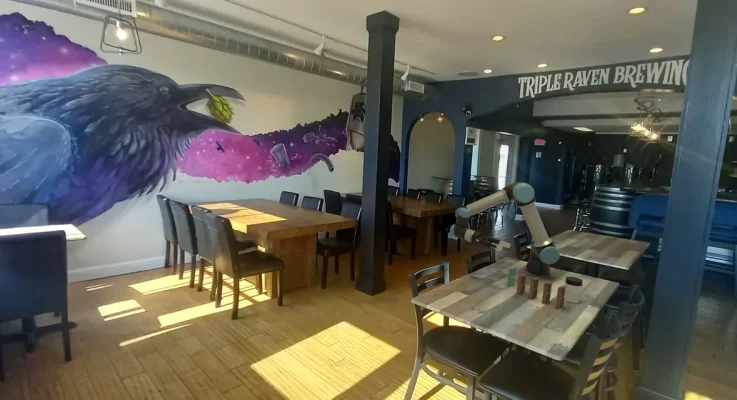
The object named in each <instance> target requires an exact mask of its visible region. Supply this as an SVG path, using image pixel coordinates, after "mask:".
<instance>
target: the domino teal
mask: <svg viewBox="0 0 737 400" xmlns="http://www.w3.org/2000/svg"><path fill="white" fill-rule="evenodd" d="M517 268H518V267H517V266H510V267H508V272H507V273H508V275H507V282H506V286H507V287H509V288H510V287H512V286H515V283H516V275H517Z"/></svg>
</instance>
